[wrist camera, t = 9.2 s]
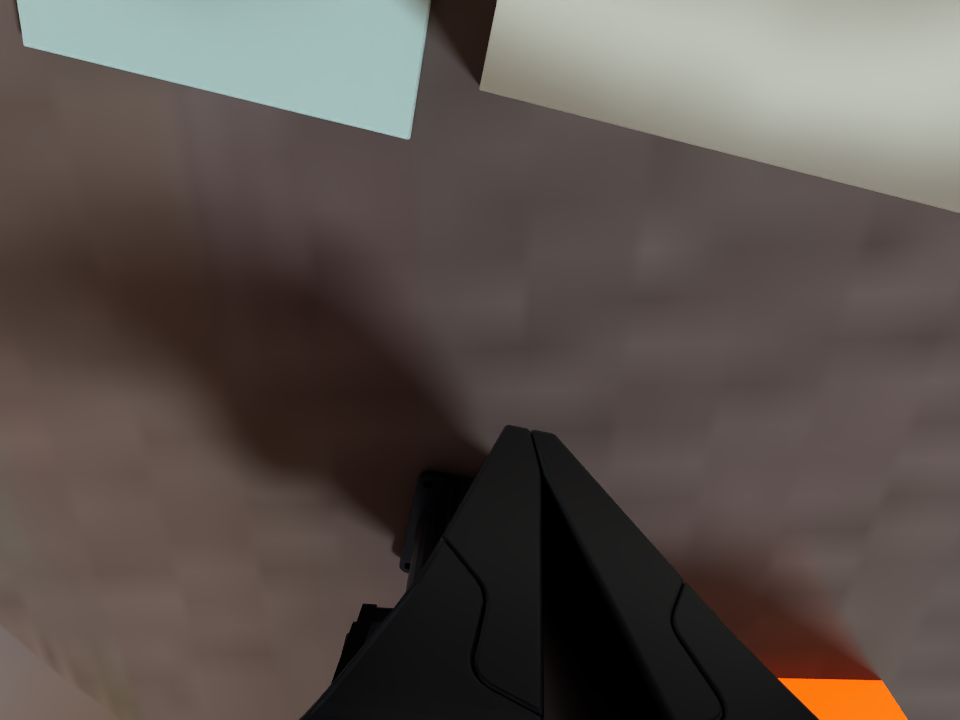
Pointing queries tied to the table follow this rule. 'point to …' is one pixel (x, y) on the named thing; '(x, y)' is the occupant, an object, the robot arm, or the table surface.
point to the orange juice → (846, 699)
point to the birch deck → (755, 80)
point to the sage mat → (255, 50)
